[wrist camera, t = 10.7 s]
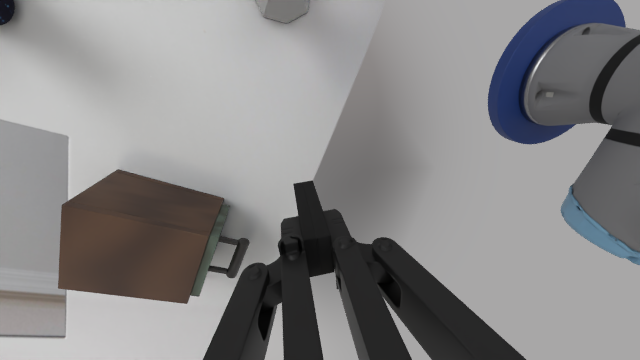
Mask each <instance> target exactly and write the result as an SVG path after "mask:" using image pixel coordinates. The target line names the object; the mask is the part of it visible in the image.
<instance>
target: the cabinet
mask: <svg viewBox="0 0 640 360" xmlns="http://www.w3.org/2000/svg"><path fill="white" fill-rule="evenodd" d="M223 200H224V198H221V197H217V196H214V195H210V194H206V193H203V192H199V191H195V190H192V189H188V188H184V187H181V186H177V185H173V184H169V183H166V182H162V181H158V180H155V179H151V178H147V177H144V176H140V175H136V174H133V173H129V172H125V171H122V170H116V171H115V172H113V173H112V174H110V175H108V176H107V177H105V178H104V179H102V180H101V181H99V182H97V183H96V184H94V185H93V186H91V187H90V188H88V189H86V190H85V191H83V192H82V193H80V194H79V195H77V196H75V197H74V198H72V199H71V200H69V201H67V202H66V203H64V204H63V205H62V212H61V235H60V258H59V281H58V288H59V289H67V290H76V291H84V292H93V293H101V294H109V295H118V296H126V297H135V298H143V299H151V300H160V301H168V302H177V303H185V304H187V303H188V300H189V297H190V294H191V291H192V288H193V285H194V282H195V279H196V276H197V273H198V270H199V267H200V264H201V261H202V258H203V254H204V251H205V248H206V245H207V242H208V239H209V236H210V233H211V231H212V228H213V226H214V223H215V221H216V218H217V216H218V213H219V211H220V208H221V206H222V203H223Z"/></svg>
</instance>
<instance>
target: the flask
mask: <svg viewBox="0 0 640 360" xmlns="http://www.w3.org/2000/svg"><path fill="white" fill-rule="evenodd" d="M256 2H257V4H258V7H259V9H260V11H261V13H262V15H263V17H267V18H270V19H274V20H277V21H281V22H284V23H288V22H290V21H292V20H294V19H296V18H298V17H300V16H302V15H303V14H305V13H307V12H308V7H309V0H256Z"/></svg>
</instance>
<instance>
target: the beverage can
mask: <svg viewBox="0 0 640 360" xmlns="http://www.w3.org/2000/svg"><path fill="white" fill-rule="evenodd" d="M14 10H15V6H14V0H0V25H3V24H6V23H7V22H9V21H10V20H11V18H12V17H13V15H14Z"/></svg>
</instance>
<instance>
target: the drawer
mask: <svg viewBox="0 0 640 360" xmlns="http://www.w3.org/2000/svg"><path fill="white" fill-rule="evenodd" d="M229 207H230V206H227V205H223V204H222V206H221V208H220V211H219V213H218V216H217V218H216V221H215V223H214V226H213V228H212V231H211V233H210V236H209V239H208V242H207V245H206V248H205V251H204V254H203V258H202V261H201V264H200V267H199V270H198V273H197V276H196V279H195V282H194V285H193V288H192V291H191V294H190V295H191V296H199V295H200V292H201V289H202V286H203V283H204V280H205V277H206V275H207V272H208V271H212V272H218V273H224V274H226V275H227V277H229V278H234V277H236V275H237V273H238V270H239V268H240V265H241V263H242V260H243V258H244V255H245V253H246V251H247V248H248V246H249V243H250V242H249V240H248V239H246V238H241V239H240V240H236V239H231V238H227V237H222V236H220V234H221V231H222V228H223V225H224V222H225V219H226V216H227V213H228V210H229ZM218 242H223V243H228V244H233V245H237V247H236V249H235V252H234V255H233V257H232V260H231V262H230V265H229V268H228V269H227V268H221V267H215V266H210V263H211V260H212V257H213V254H214V251H215V249H216V246H217V243H218Z"/></svg>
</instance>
